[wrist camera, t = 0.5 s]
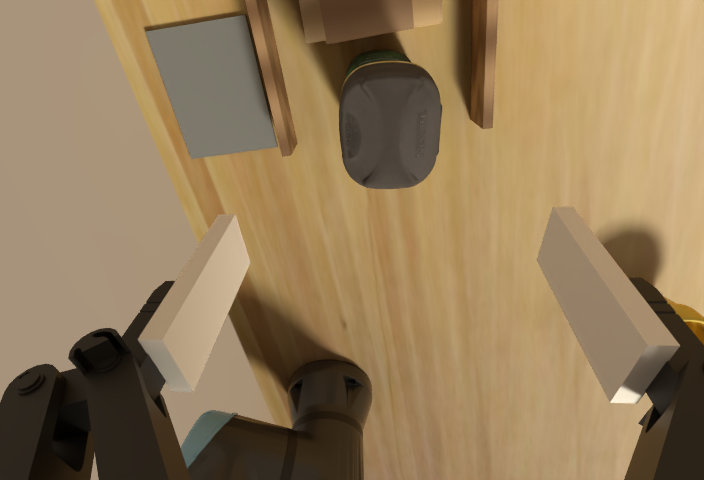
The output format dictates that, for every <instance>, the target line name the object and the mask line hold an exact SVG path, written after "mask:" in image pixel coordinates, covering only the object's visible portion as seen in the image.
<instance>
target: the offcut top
mask: <svg viewBox="0 0 704 480" xmlns="http://www.w3.org/2000/svg"><path fill="white" fill-rule="evenodd" d="M319 2H320V7H321V13H322V19H323V25H324V30H325V36H326V42H327V44H332V43H338V42H343V41H348V40H354V39H359V38H365V37H370V36H375V35H381V34H386V33H392V32H397V31H402V30H408V29H413V28H414V21H413V7H412V0H319Z"/></svg>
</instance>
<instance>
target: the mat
mask: <svg viewBox="0 0 704 480" xmlns="http://www.w3.org/2000/svg"><path fill="white" fill-rule="evenodd" d="M145 33H146V35H147V38H148V41H149V44H150V46H151V49H152V52H153V55H154V57H155V60H156V63H157V66H158V68H159V71H160V74H161V77H162V79H163V82H164V85H165V88H166V90H167V93H168V96H169V99H170V101H171V104H172V107H173V110H174V112H175V115H176V118H177V121H178V123H179V126H180V129H181V132H182V134H183V137H184V140H185V143H186V145H187V148H188V151H189V154H190V156H191V159H195V158H202V157H209V156H216V155H223V154H231V153H238V152H245V151H252V150H259V149H267V148H274V147H277V142H276V137H275V133H274V129H273V125H272V121H271V117H270V113H269V109H268V104H267V100H266V96H265V92H264V88H263V84H262V80H261V75H260V71H259V67H258V63H257V59H256V55H255V51H254V46H253V42H252V38H251V34H250V30H249V26H248V22H247V17H246V15H241V16H235V17H229V18H223V19H217V20H211V21H205V22H199V23H194V24H188V25H182V26H176V27H170V28H164V29H158V30H152V31H146V32H145Z"/></svg>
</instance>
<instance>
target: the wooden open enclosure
mask: <svg viewBox="0 0 704 480" xmlns="http://www.w3.org/2000/svg"><path fill="white" fill-rule="evenodd" d="M245 3H246V7H247V11H248V15H249V19H250V24H251V28H252V32H253V36H254V40H255V45H256V49H257V53H258V57H259V61H260V66H261V70H262V74H263V78H264V82H265V87H266V91H267V95H268V99H269V103H270V107H271V112H272V116H273V120H274V124H275V128H276V133H277V137H278V141H279V145H280V149H281V154H282V157H283V156H290V155H291V154H292V153H293V151H294V149H295V147H296V145H297V139H296V135H295V130H294V125H293V121H292V116H291V111H290V107H289V102H288V97H287V93H286V88H285V83H284V79H283V74H282V69H281V65H280V60H279V55H278V51H277V46H276V41H275V37H274V32H273V27H272V23H271V18H270V13H269V9H268V4H267V0H245ZM497 21H498V0H473V2H472V60H471V118H470V119H471V120H472V121H473V122H474V123H476V124H477V125H478V126H480V127H481V128H482V129H488V128H493V107H494V86H495V64H496V43H497Z"/></svg>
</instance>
